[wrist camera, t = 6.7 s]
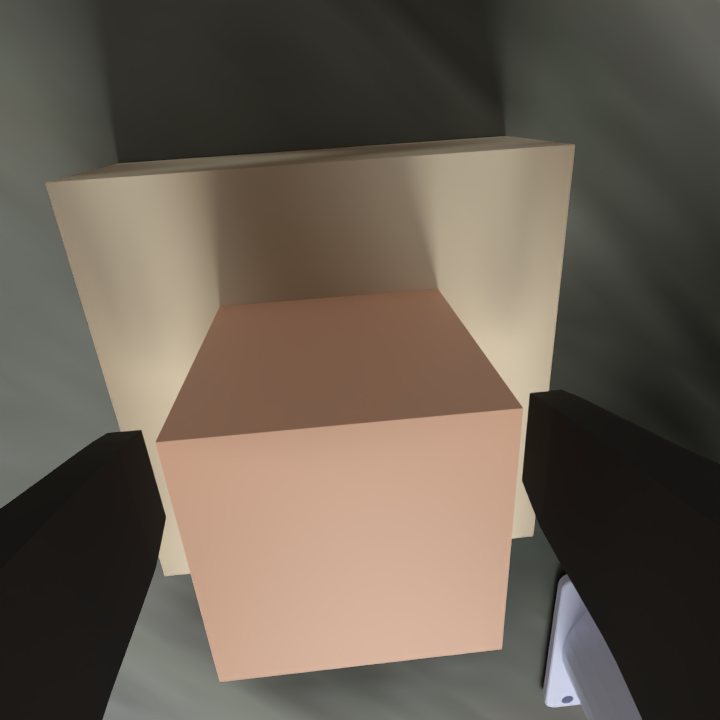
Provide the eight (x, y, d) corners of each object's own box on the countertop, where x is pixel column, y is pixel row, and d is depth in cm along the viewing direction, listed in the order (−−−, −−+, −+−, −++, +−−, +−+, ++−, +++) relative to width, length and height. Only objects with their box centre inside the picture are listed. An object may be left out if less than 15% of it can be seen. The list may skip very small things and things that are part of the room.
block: (437, 288, 11) (523, 408, 7) (436, 465, 13) (502, 649, 9) (219, 306, 11) (155, 442, 6) (251, 482, 13) (219, 681, 8)
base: (506, 135, 14) (574, 144, 10) (489, 451, 18) (533, 535, 14) (117, 163, 13) (44, 182, 10) (194, 480, 18) (164, 576, 14)
